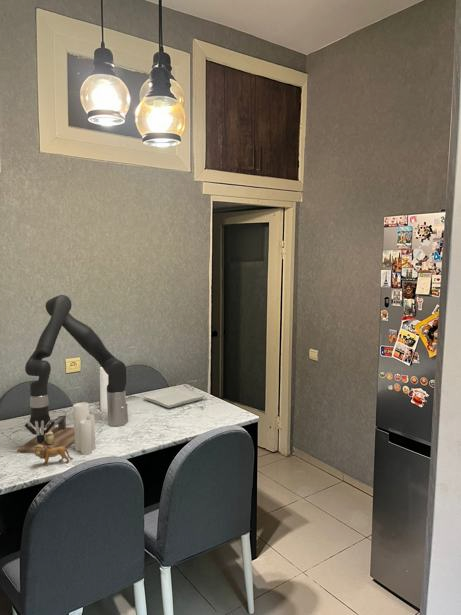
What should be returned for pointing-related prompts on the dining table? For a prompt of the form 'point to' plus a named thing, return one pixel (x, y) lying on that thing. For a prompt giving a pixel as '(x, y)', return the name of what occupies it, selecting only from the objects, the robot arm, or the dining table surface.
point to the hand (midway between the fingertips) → (40, 442)
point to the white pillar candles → (84, 428)
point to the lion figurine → (50, 453)
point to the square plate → (174, 397)
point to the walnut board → (61, 437)
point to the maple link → (49, 436)
